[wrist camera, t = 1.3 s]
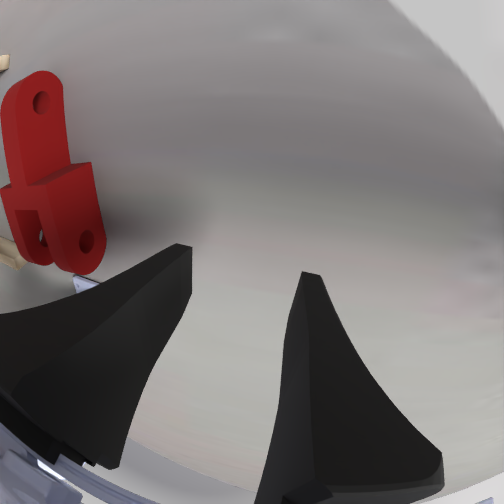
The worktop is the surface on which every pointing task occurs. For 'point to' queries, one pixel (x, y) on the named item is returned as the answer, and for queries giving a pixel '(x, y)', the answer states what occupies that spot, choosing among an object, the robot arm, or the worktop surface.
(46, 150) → the mechanical linkage
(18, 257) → the tray
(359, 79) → the worktop surface
